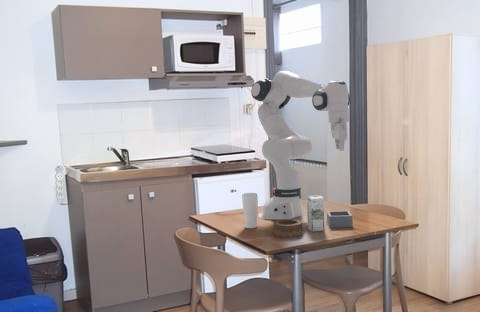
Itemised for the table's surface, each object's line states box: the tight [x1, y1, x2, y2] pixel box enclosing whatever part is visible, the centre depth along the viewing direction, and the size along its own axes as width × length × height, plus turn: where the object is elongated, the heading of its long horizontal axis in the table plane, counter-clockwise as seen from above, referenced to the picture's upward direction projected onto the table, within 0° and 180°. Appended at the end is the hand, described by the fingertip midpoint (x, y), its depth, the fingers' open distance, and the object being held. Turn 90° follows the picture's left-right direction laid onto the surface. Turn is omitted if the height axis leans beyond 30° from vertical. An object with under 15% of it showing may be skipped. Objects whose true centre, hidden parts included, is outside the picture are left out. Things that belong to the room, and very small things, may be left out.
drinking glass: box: [241, 192, 259, 229], centre depth 225 cm, size 7×7×15 cm
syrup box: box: [306, 195, 325, 233], centre depth 215 cm, size 6×6×14 cm
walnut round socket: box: [273, 218, 304, 239], centre depth 211 cm, size 12×12×5 cm
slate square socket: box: [326, 210, 354, 229], centre depth 223 cm, size 10×10×5 cm
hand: (339, 149), depth 222 cm, fingers open, 8 cm apart
